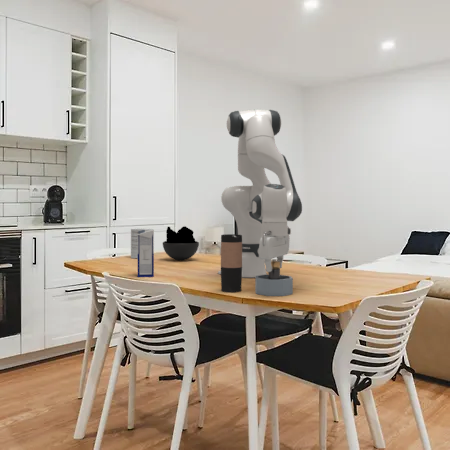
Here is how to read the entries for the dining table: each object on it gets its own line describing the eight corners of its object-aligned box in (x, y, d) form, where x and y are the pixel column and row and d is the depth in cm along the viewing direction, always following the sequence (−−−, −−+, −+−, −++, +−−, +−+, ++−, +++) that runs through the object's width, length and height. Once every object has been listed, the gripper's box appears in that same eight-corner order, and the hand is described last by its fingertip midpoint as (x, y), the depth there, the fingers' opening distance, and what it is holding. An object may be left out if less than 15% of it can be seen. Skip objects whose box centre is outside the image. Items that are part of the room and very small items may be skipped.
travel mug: (224, 288, 182) (224, 234, 181) (244, 289, 179) (244, 234, 179) (217, 291, 174) (218, 235, 173) (238, 293, 172) (239, 235, 171)
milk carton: (153, 276, 210) (153, 229, 209) (137, 277, 208) (137, 229, 208) (153, 274, 217) (153, 229, 216) (137, 274, 215) (137, 229, 215)
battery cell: (266, 289, 175) (266, 259, 174) (276, 288, 176) (277, 258, 175) (271, 291, 171) (271, 260, 170) (281, 290, 172) (281, 260, 172)
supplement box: (142, 259, 277) (142, 229, 276) (130, 258, 282) (130, 228, 281) (153, 257, 285) (153, 228, 284) (141, 256, 290) (141, 228, 289)
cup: (248, 292, 173) (248, 276, 173) (271, 288, 182) (271, 273, 182) (276, 297, 164) (276, 280, 164) (299, 292, 173) (299, 277, 173)
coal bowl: (203, 259, 280) (203, 225, 279) (192, 263, 260) (193, 227, 260) (169, 258, 284) (169, 225, 284) (157, 261, 265) (157, 226, 264)
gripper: (271, 232, 162) (271, 274, 162) (292, 229, 180) (292, 267, 181) (254, 231, 165) (254, 273, 165) (276, 228, 183) (275, 265, 184)
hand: (274, 269), depth 173 cm, fingers open, 8 cm apart
